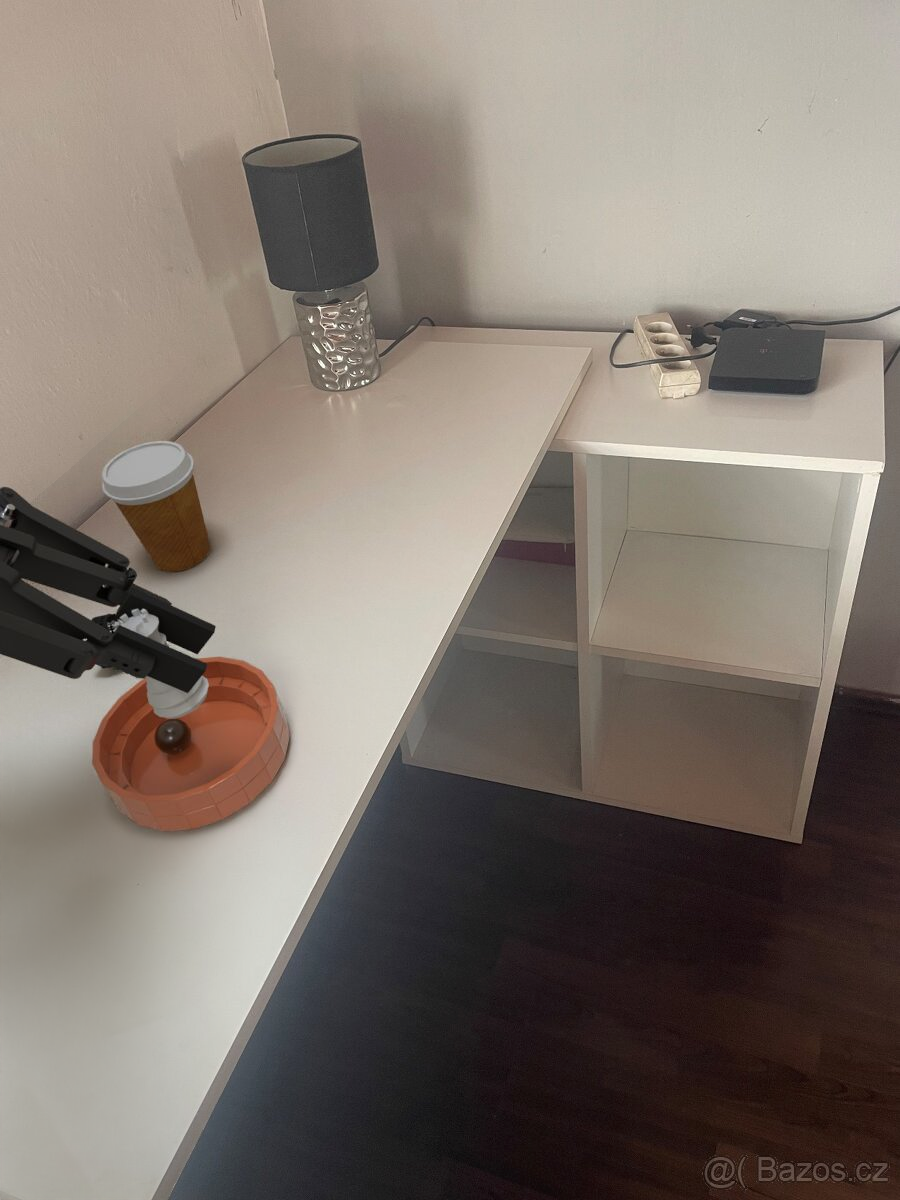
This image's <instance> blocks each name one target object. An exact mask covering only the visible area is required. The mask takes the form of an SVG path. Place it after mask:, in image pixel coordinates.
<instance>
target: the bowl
mask: <svg viewBox="0 0 900 1200" xmlns="http://www.w3.org/2000/svg"><path fill="white" fill-rule="evenodd" d="M196 659H198V660H200V661H202V662H204V663H207V667H206V671H205V673H204V674H203V675H202V676H203V677H205V678H207V681H208V684H209V687H208V692H207V695H206V698H205V699H204V701H203V702H202V703H201V705H200V706H198V707H197V708H196V709H195V710H194V711H192V712H191V713H189V714H187V715H185V716H183V717H179V718H175V719H180V720H182V721H184V722H185V723H186V724H187V725H188V726H189V728H190V730H191V734H192V738H191V742H190V744H189V746H188V747H187V748H186V749H185V750H184V751H182V752H181V753H178V754H166V753H164V752H162V751H161V750H160V749H159V748H158V747H157V746H156V743H155V739H154V736H155V731H156V729H157V727H158V726H159V725H160V724H161V723H162V722H164V721H166V720H168V719H170V718H163V717H159V716H158V715H157V714H155V713H154V709H153V706H151V705H150V704H149V701H148V697H147V692H148V690H147V687H146V684H147V680H146V678H145V679H141V680H139V681H138V682H136V683H135V684H134V685H133V686H132V687H131V688H129V689H128V690H127V691H126V692H125V693H123V694H122V695H121V696H120V697H118V699H117V700H116V701H115V702H114V704H113V705H112V706H111V708H110V709H109V710H108V711H107V713H106V714H105V715H104V716H103V718H102V719H101V721H100V724H99V725H98V729H97V731H96V734H95V736H94V738H93V740H92V754H91V755H92V759H91V763H92V766H93V769H94V772H95V773H96V775H97V777H98V779H99V781H100V783H101V785H102V787H103V788H104V790H105V791H106V793H107V794H108V795H109V796H110V798H111V800H112V801H113V803H114V804H115V806H116V808H117V809H118V811H119V812H120V813H122V814H123V815H124V816H125V817H126V818H128V819H130V821H132V822H134V823H135V824H136V825H138V826H141V827H145V828H150V829H154V830H157V831H162V832H173V831H186V830H187V831H188V830H195V829H199V828H201V827H204V826H207V825H211V824H214V823H216V822H220V821H222V820H224V819H226V818H227V817H230V816H231V815H233V814H234V813H236V812H238V811H240V810H241V809H242V808H244V807H246V806H247V805H248V804H250V803H252V802H253V801H254V800H255V799H256V797H257V796H259V795H260V794H261V793H262V792H263V791H264V790H265V789H266V788H267V787H268V786H269V785H270V784H271V783H272V781H273V780H274V778H275V777H276V775H277V773H278V772H279V770H280V768H281V766H282V764H283V763H284V761H285V760H286V756H287V751H288V746H289V742H290V730H289V724H288V720H287V715H286V713H285V711H284V708H283V704H282V702H281V700H280V697H279V695H278V693H277V690H276V687H275V685H274V683H272V681H271V680H270V678H269V677H268V676H267V675H266V674H265V673H264V671H263V670H262V669H260V668H258V667H256V666H254V665H252V664H250V663H249V662H247V661H245V660H242V659H236V658H230V657H225V656H209V657H198V658H197V657H196Z"/></svg>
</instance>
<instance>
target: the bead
mask: <svg viewBox="0 0 900 1200" xmlns="http://www.w3.org/2000/svg"><path fill="white" fill-rule="evenodd" d="M191 738H192V734H191V730H190V728H189V726H188V725H187V724H186V723H185V722H184V721H182V720H180V719H168V720H166V721H164V722H162V723H161V724H160V725H159V726H158V727H157V729H156V731H155V736H154V739H155V743H156V746H157V747H158V748H159V749H160V750H161V751H162V752H164V753H166V754H178V753H181V752H182V751H184V750H185V749H186V748H187V747H188V746H189V744H190V742H191Z"/></svg>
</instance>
